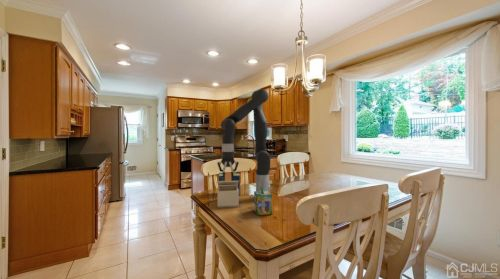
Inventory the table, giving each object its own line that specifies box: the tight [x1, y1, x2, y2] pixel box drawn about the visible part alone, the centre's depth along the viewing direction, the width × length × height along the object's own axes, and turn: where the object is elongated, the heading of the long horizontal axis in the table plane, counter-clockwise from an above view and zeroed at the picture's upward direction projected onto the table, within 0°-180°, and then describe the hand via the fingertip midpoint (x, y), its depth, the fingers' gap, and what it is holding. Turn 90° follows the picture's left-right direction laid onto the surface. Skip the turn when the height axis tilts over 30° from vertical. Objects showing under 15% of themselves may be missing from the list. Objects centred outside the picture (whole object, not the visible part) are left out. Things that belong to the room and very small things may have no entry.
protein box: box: [218, 171, 241, 197], centre depth 159 cm, size 10×15×16 cm
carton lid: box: [216, 171, 239, 187], centre depth 141 cm, size 13×14×6 cm
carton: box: [217, 185, 240, 209], centre depth 140 cm, size 13×15×10 cm
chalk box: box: [253, 186, 273, 216], centre depth 125 cm, size 9×9×15 cm
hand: (228, 177), depth 136 cm, fingers closed on carton lid, 4 cm apart
